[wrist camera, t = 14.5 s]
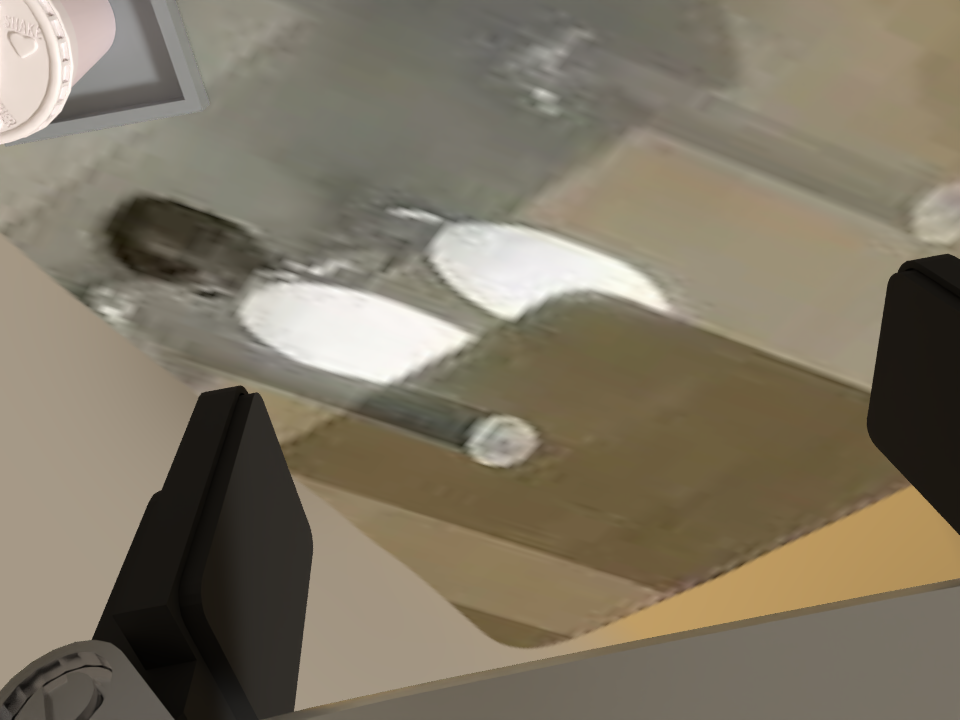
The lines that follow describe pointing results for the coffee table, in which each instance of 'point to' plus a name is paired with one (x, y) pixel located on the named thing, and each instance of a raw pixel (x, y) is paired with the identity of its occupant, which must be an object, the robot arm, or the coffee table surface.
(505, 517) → the coffee table surface
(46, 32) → the smoothie
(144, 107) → the tray
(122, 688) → the robot arm
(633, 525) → the coffee table surface
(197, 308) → the coffee table surface
